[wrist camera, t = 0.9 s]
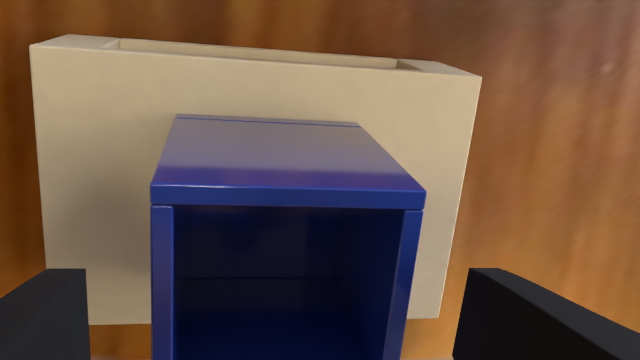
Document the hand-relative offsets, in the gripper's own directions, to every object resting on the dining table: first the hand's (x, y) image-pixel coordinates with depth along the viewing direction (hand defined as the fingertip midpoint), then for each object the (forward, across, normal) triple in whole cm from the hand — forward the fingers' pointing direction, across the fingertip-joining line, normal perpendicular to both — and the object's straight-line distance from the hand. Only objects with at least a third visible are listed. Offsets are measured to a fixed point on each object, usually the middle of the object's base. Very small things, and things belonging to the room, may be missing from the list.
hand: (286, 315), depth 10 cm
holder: (+6, 0, 0) cm, 6 cm away
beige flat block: (+9, 0, 0) cm, 9 cm away
